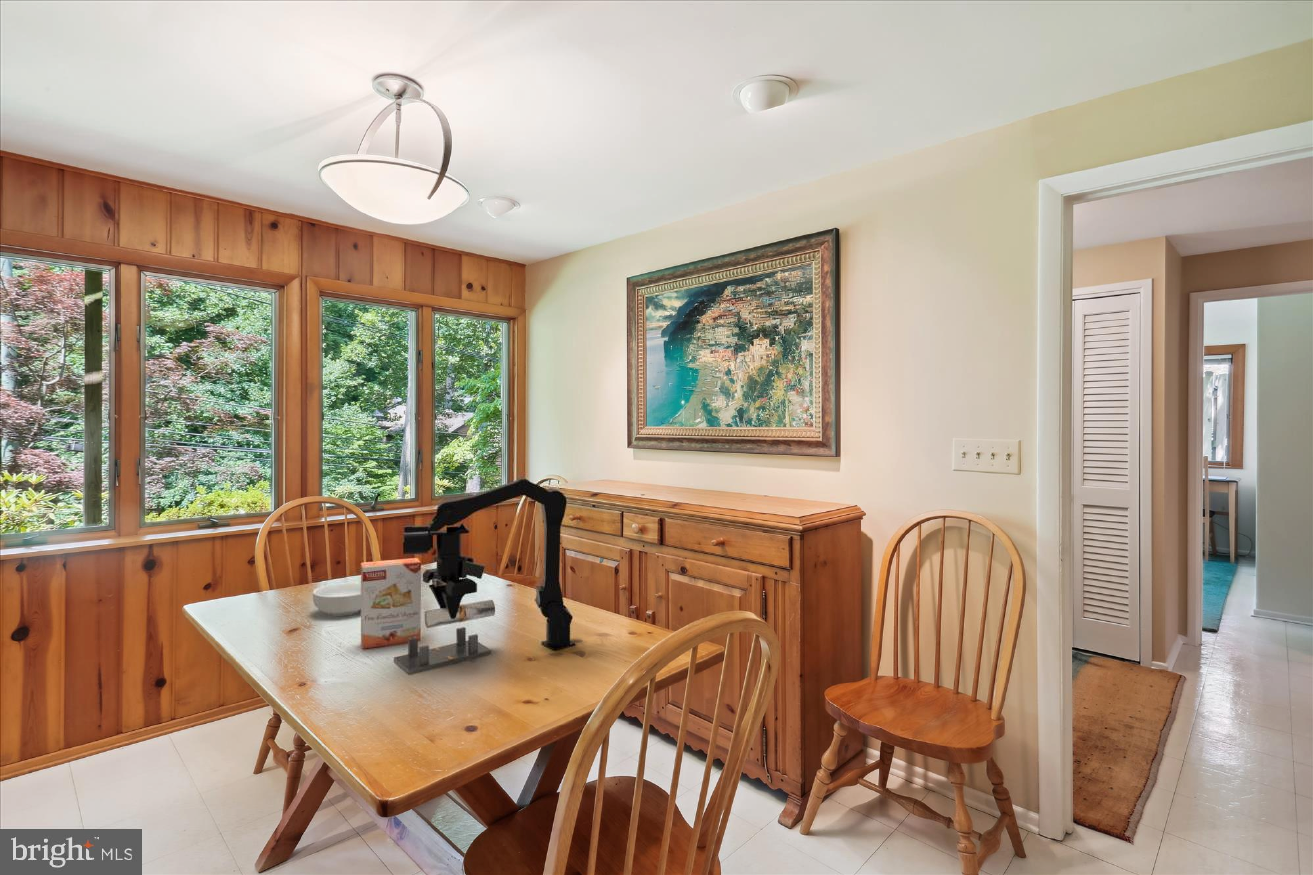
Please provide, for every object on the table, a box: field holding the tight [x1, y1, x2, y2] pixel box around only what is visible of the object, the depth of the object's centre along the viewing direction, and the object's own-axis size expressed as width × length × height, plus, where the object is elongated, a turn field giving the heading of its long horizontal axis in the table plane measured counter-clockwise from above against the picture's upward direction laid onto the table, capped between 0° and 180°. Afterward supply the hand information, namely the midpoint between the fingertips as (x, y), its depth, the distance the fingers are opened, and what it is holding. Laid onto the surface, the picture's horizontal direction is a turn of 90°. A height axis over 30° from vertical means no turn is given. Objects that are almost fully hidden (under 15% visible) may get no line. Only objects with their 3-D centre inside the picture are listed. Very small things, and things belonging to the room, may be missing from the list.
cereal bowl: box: [312, 581, 361, 617], centre depth 190 cm, size 17×17×7 cm
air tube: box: [424, 599, 496, 629], centre depth 157 cm, size 16×4×4 cm, turn 124°
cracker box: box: [360, 557, 422, 650], centre depth 165 cm, size 14×6×21 cm, turn 118°
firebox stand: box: [393, 626, 492, 675], centre depth 155 cm, size 10×20×5 cm, turn 130°
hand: (449, 616), depth 155 cm, fingers closed on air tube, 4 cm apart
